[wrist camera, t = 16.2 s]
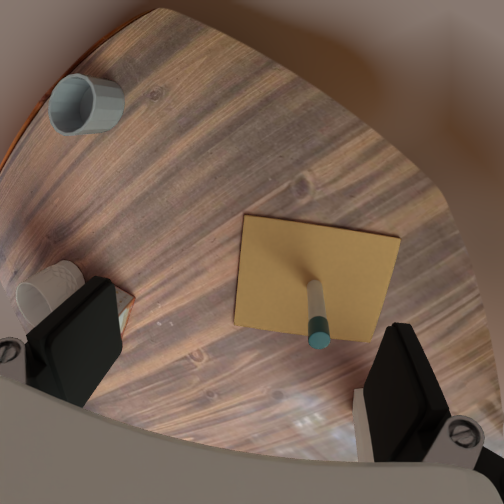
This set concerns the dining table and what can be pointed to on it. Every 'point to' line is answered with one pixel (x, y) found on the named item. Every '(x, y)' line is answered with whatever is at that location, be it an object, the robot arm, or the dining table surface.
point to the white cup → (47, 290)
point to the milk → (361, 428)
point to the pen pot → (85, 105)
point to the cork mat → (312, 276)
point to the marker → (317, 316)
